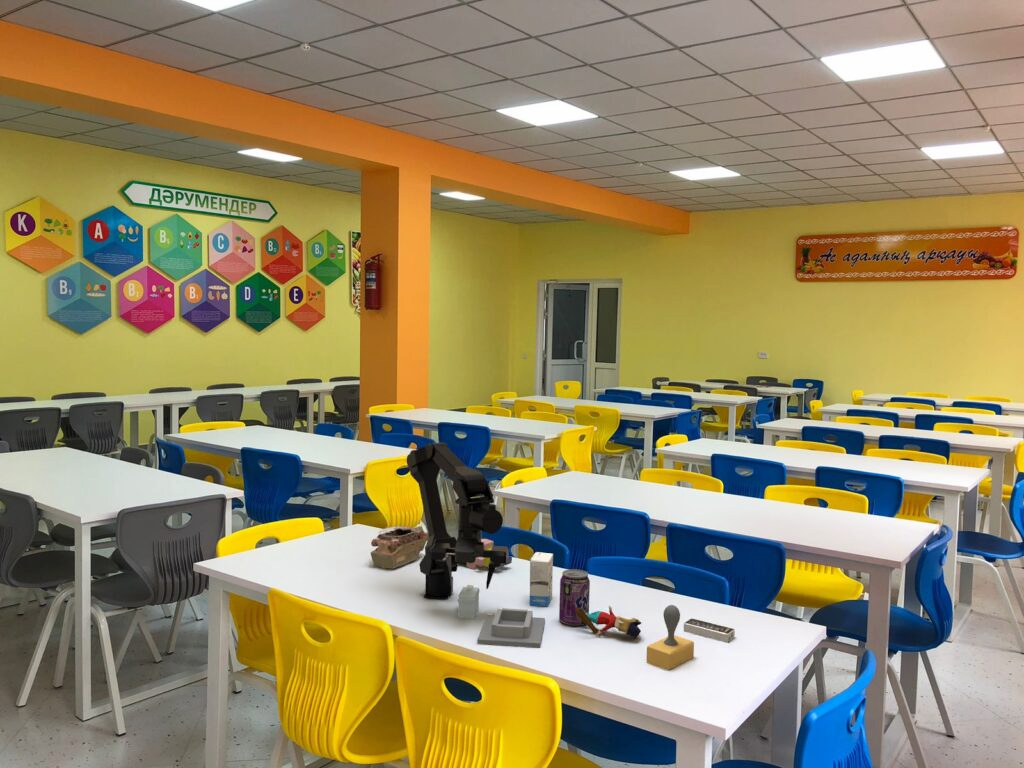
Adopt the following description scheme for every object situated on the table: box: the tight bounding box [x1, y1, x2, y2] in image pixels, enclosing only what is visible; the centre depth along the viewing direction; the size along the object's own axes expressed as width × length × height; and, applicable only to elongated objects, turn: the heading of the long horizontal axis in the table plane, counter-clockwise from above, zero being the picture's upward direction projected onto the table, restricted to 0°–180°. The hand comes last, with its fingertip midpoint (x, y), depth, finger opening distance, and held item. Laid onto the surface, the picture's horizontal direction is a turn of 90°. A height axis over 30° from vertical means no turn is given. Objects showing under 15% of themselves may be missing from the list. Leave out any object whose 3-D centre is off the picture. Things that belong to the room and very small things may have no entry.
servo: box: [457, 584, 480, 620], centre depth 198 cm, size 4×8×6 cm, turn 174°
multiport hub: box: [683, 618, 736, 643], centre depth 188 cm, size 4×11×2 cm, turn 53°
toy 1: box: [458, 537, 513, 570], centre depth 237 cm, size 12×7×15 cm
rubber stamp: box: [645, 604, 695, 671], centre depth 172 cm, size 10×6×12 cm, turn 136°
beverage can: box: [558, 568, 591, 627], centre depth 193 cm, size 7×7×12 cm
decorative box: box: [370, 526, 429, 570], centre depth 241 cm, size 13×20×10 cm, turn 144°
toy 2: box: [575, 605, 642, 639], centre depth 185 cm, size 9×6×15 cm
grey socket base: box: [476, 607, 546, 649], centre depth 186 cm, size 14×16×4 cm
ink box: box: [529, 551, 554, 607], centre depth 208 cm, size 9×5×12 cm, turn 168°
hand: (468, 587), depth 198 cm, fingers open, 9 cm apart
